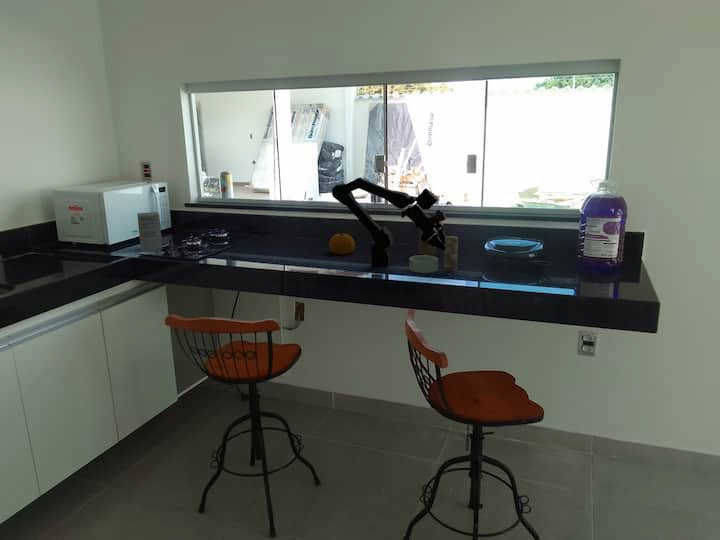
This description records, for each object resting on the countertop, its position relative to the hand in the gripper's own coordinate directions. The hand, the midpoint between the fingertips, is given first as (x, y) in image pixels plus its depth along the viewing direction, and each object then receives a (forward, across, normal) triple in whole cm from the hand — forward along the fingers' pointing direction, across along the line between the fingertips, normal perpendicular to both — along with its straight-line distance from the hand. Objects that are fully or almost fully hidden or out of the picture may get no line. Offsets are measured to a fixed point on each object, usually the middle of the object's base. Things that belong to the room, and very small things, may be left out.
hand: (447, 247), depth 217 cm
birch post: (+8, 0, +5) cm, 9 cm away
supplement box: (-93, +1, +104) cm, 140 cm away
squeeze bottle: (-2, +23, +15) cm, 28 cm away
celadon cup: (0, -2, +12) cm, 13 cm away
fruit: (-29, +17, +42) cm, 53 cm away
